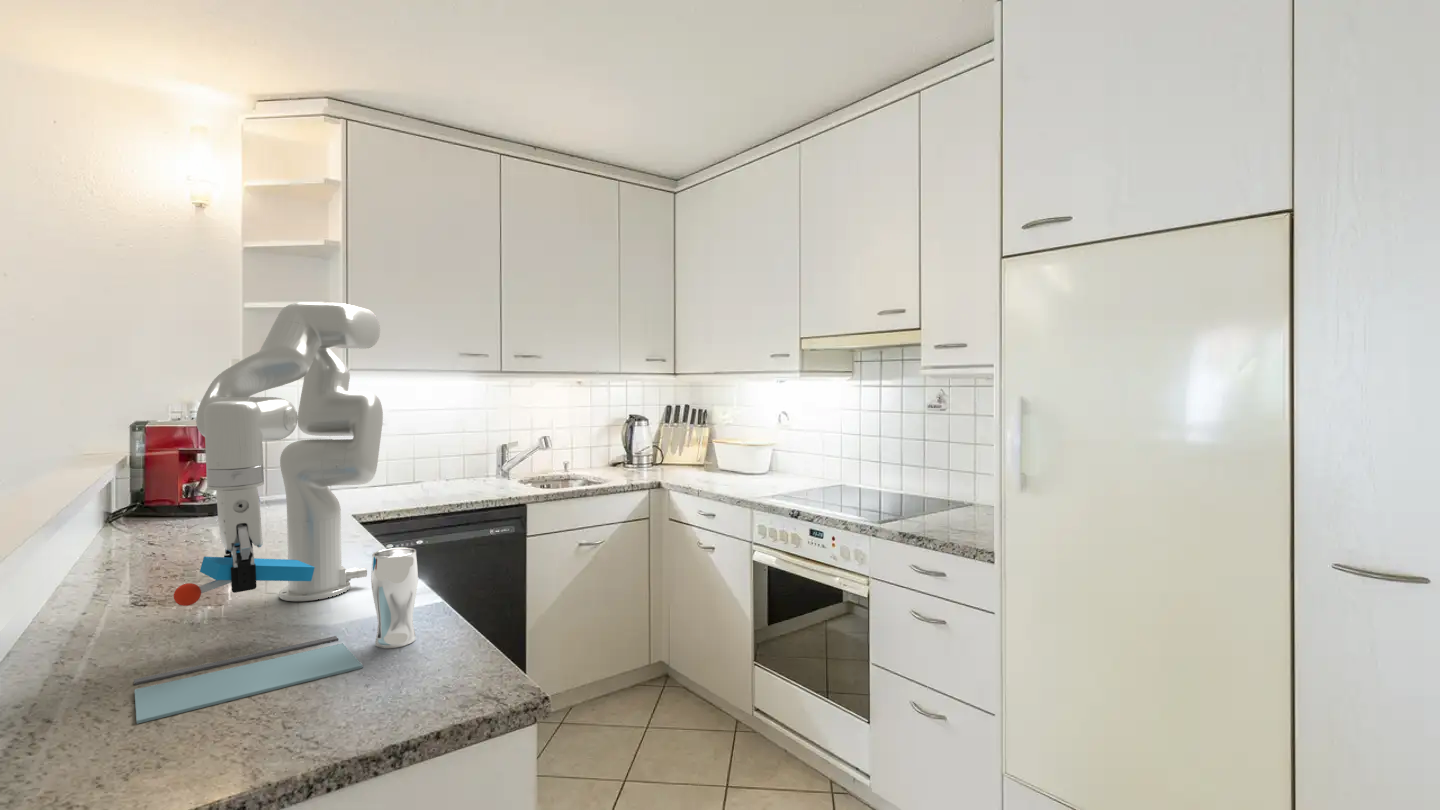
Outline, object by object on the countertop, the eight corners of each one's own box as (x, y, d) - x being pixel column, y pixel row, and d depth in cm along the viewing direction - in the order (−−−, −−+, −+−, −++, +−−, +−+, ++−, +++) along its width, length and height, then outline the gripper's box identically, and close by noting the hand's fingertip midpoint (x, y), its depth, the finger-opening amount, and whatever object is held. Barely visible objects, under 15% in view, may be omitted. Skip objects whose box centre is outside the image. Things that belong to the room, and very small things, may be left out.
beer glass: (427, 638, 116) (426, 549, 116) (392, 652, 110) (391, 559, 109) (398, 632, 119) (397, 545, 118) (362, 645, 113) (361, 554, 112)
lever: (286, 599, 121) (163, 600, 107) (296, 559, 122) (176, 555, 108) (304, 608, 117) (179, 610, 103) (315, 567, 118) (192, 563, 104)
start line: (335, 637, 116) (335, 635, 116) (338, 640, 115) (338, 638, 115) (133, 681, 99) (133, 679, 99) (134, 684, 98) (134, 682, 98)
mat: (342, 645, 113) (342, 643, 113) (362, 667, 104) (362, 665, 104) (134, 692, 95) (134, 689, 95) (136, 723, 86) (136, 720, 86)
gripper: (272, 482, 107) (277, 592, 108) (255, 468, 120) (259, 566, 121) (212, 488, 102) (218, 603, 103) (201, 472, 115) (206, 575, 116)
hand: (240, 583), depth 112 cm, fingers closed on lever, 7 cm apart
